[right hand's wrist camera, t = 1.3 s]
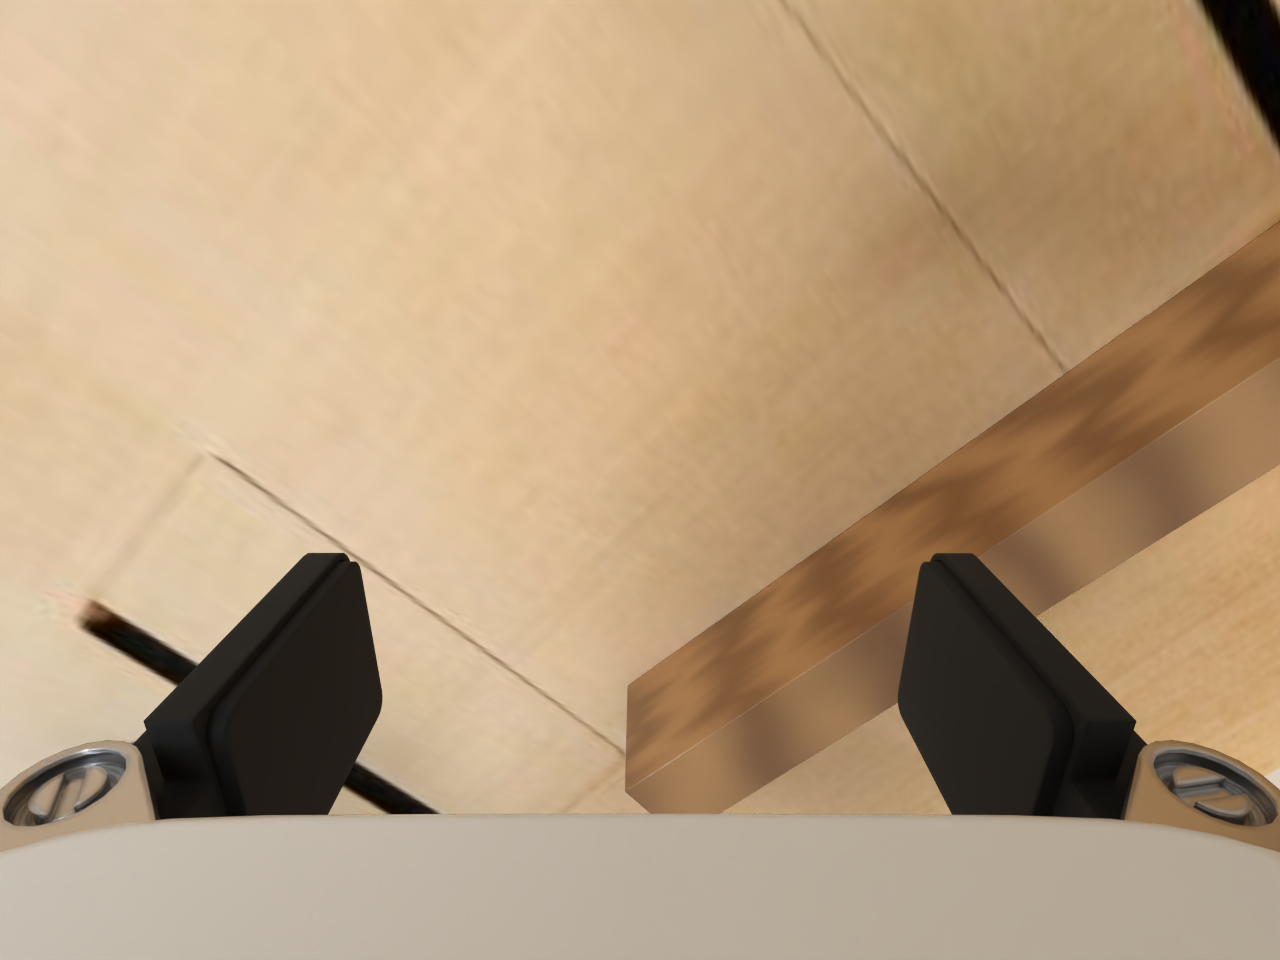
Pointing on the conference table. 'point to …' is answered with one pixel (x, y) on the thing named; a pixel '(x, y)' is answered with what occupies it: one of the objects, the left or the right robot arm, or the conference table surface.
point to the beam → (976, 538)
